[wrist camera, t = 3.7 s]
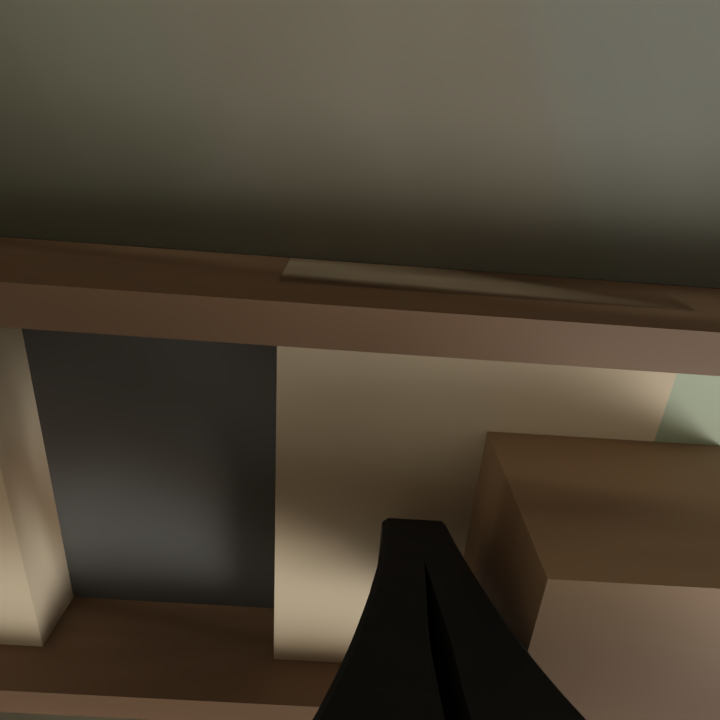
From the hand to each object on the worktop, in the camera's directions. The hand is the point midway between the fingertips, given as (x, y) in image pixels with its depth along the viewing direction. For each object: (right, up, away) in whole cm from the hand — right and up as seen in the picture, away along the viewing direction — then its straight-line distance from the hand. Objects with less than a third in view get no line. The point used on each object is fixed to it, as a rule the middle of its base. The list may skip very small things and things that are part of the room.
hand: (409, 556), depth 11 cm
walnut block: (+4, 0, +1) cm, 4 cm away
